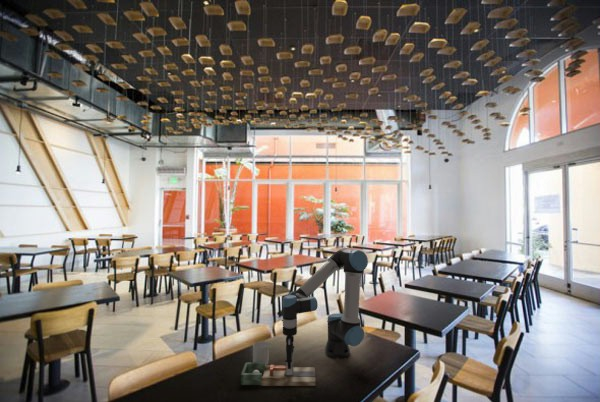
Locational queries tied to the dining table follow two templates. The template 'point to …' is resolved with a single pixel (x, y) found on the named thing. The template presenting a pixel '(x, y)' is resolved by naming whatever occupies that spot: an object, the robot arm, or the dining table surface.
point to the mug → (261, 352)
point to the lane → (277, 376)
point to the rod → (282, 368)
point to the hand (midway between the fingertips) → (290, 367)
